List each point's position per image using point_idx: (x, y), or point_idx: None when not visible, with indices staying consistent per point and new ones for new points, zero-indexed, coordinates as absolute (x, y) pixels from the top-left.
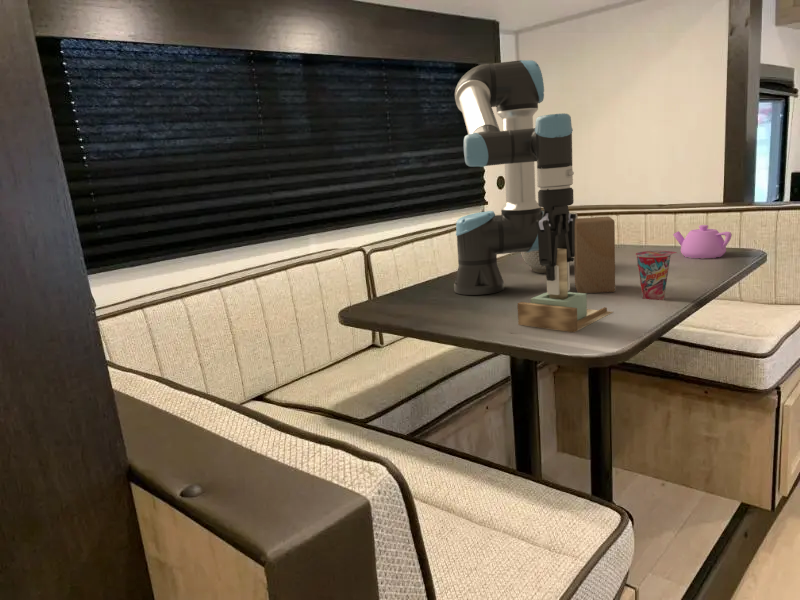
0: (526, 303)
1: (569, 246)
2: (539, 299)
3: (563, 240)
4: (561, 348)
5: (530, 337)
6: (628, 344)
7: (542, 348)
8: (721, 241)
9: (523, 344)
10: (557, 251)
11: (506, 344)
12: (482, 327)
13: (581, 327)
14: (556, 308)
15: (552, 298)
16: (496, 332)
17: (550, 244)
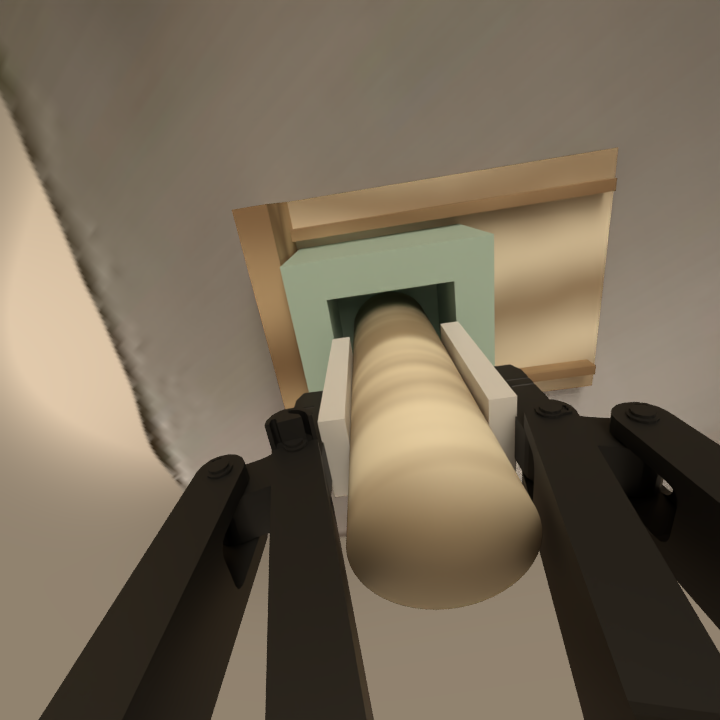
0: (260, 253)
1: (668, 543)
2: (292, 317)
3: (577, 656)
4: (208, 446)
5: (218, 318)
6: (342, 531)
7: (170, 411)
8: None
9: (152, 349)
10: (367, 584)
11: (108, 307)
12: (165, 36)
13: None
14: (286, 407)
15: (353, 345)
16: (166, 165)
17: (197, 717)
